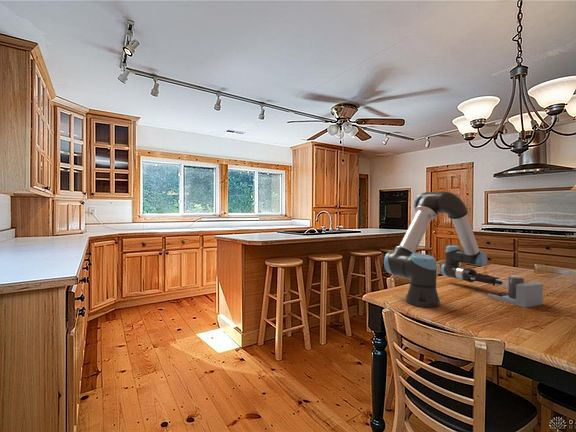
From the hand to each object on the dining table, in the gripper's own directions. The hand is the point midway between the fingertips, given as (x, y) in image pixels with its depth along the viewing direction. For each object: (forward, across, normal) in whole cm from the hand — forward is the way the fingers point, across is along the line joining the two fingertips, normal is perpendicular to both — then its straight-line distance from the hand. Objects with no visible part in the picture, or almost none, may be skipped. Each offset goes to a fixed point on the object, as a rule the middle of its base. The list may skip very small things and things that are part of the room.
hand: (509, 284), depth 150 cm
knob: (+3, 0, -7) cm, 8 cm away
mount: (+1, 0, -7) cm, 8 cm away
